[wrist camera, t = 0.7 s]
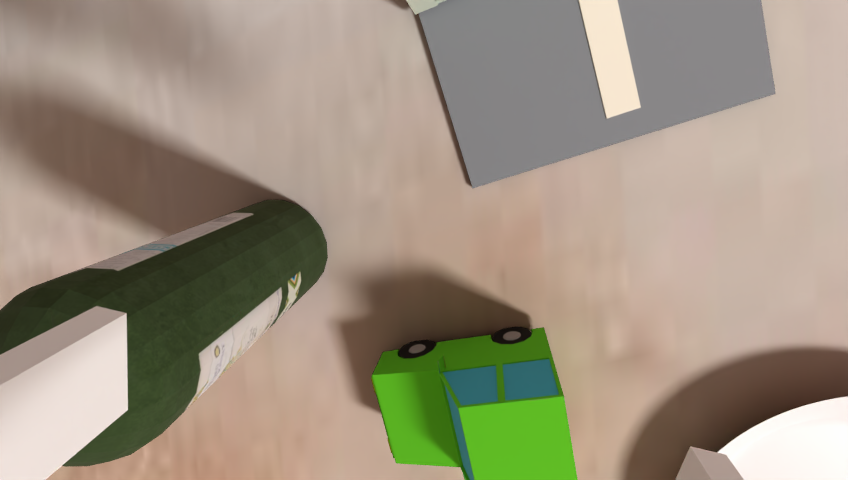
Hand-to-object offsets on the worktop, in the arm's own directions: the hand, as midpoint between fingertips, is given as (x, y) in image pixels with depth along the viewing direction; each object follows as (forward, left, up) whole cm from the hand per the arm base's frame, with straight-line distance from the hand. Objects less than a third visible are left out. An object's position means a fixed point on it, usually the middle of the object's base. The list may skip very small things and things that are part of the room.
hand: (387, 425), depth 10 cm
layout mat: (-11, +12, -24) cm, 29 cm away
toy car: (+14, -3, -25) cm, 28 cm away
